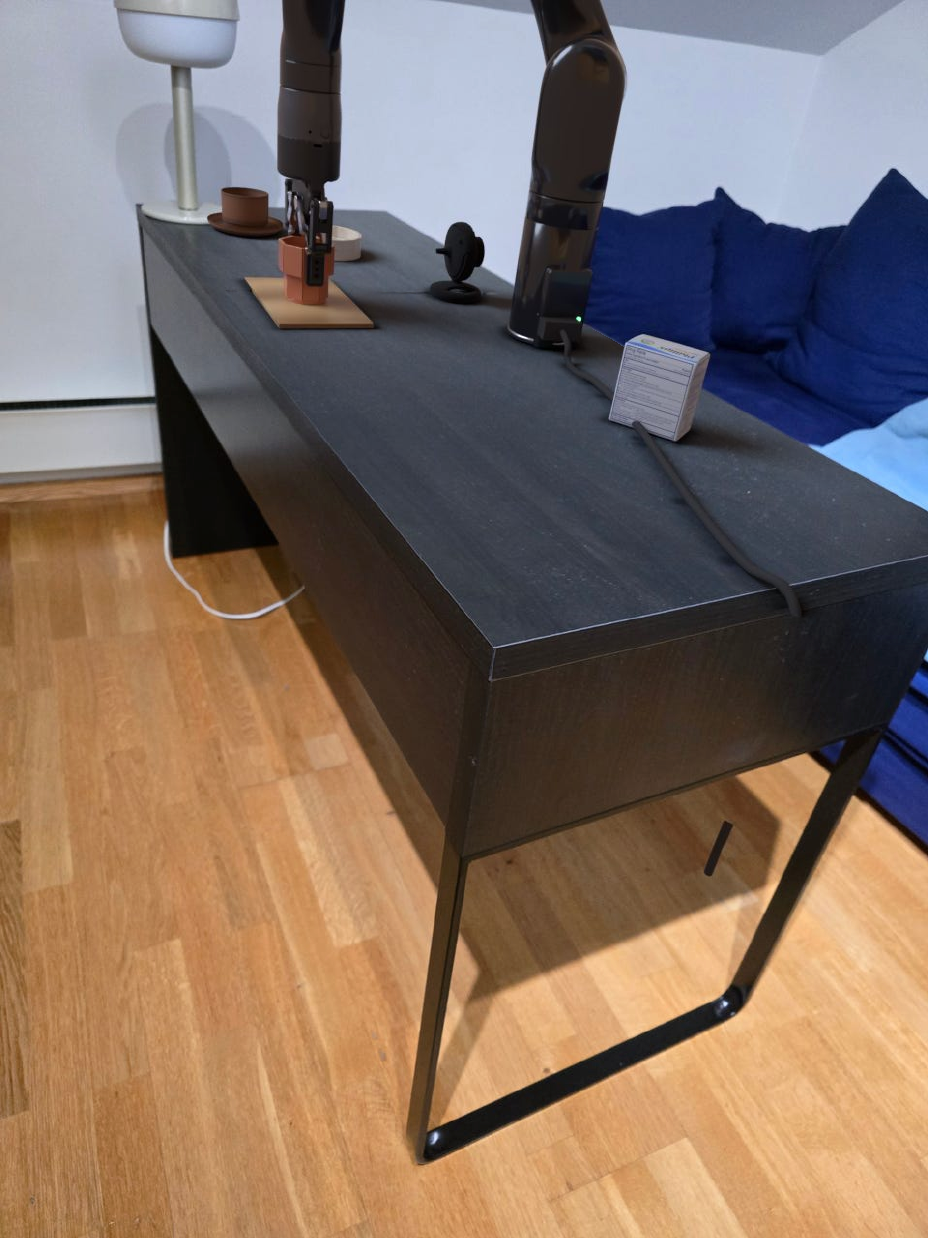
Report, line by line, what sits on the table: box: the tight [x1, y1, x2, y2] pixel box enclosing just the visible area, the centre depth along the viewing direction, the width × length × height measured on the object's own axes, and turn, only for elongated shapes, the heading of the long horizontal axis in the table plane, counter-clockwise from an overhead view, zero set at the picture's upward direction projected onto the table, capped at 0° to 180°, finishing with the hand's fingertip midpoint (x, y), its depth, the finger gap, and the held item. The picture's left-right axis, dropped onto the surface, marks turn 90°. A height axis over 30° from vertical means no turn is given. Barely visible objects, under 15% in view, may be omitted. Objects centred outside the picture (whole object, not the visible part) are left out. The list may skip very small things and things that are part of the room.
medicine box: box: [608, 333, 711, 443], centre depth 92 cm, size 8×4×9 cm, turn 58°
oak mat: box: [244, 276, 375, 330], centre depth 115 cm, size 20×12×1 cm, turn 23°
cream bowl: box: [316, 225, 363, 262], centre depth 137 cm, size 10×10×4 cm
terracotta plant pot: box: [278, 235, 335, 305], centre depth 113 cm, size 7×7×7 cm
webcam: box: [429, 221, 486, 304], centre depth 125 cm, size 8×8×10 cm
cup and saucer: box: [206, 186, 284, 238], centre depth 141 cm, size 12×12×6 cm
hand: (306, 276), depth 114 cm, fingers open, 7 cm apart
